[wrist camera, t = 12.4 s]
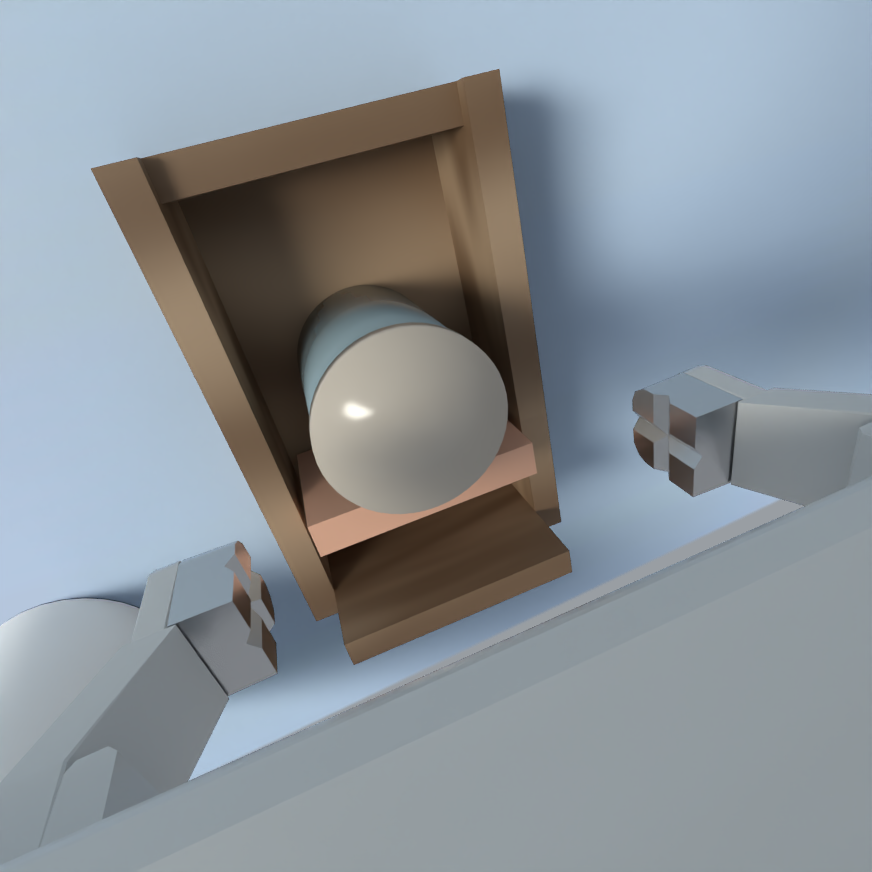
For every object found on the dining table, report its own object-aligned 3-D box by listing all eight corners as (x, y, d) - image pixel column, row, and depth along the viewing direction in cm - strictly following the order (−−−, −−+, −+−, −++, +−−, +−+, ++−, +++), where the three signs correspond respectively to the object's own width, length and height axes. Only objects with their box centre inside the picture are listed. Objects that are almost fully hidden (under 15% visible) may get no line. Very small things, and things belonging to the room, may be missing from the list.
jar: (271, 307, 17) (277, 367, 12) (417, 262, 18) (489, 299, 12) (322, 439, 20) (348, 540, 14) (449, 394, 20) (520, 474, 15)
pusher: (296, 454, 19) (307, 527, 15) (477, 391, 21) (532, 442, 16) (307, 480, 20) (320, 556, 16) (482, 417, 21) (537, 472, 17)
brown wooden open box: (129, 172, 15) (52, 164, 9) (447, 94, 17) (546, 45, 11) (307, 552, 22) (324, 677, 17) (516, 472, 24) (597, 561, 18)
